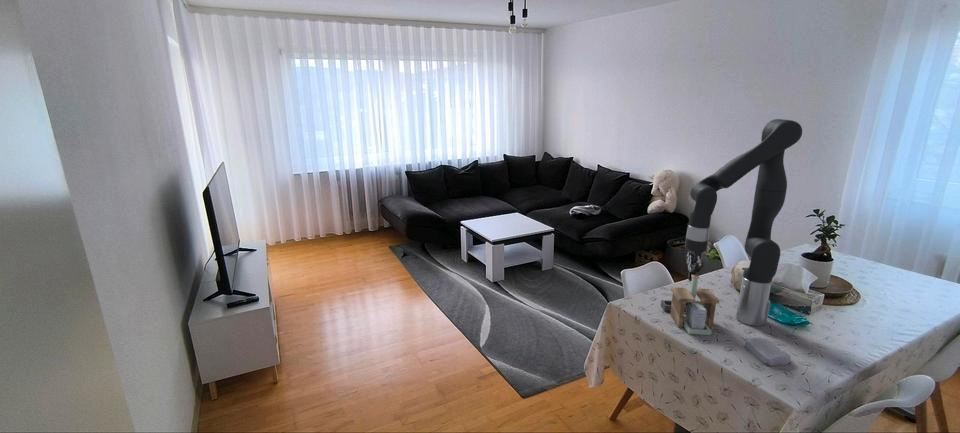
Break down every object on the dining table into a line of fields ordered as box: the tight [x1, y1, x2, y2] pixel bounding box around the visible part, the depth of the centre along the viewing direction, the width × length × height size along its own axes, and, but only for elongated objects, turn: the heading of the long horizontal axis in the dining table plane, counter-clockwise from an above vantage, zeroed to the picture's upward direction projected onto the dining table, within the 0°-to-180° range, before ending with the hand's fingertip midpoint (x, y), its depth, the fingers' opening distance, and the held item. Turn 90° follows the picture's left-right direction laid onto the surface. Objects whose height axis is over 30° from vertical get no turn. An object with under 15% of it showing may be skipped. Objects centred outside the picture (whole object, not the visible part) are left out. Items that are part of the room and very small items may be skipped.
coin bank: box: [730, 260, 751, 292], centre depth 194 cm, size 16×17×13 cm
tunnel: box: [669, 286, 720, 330], centre depth 164 cm, size 14×10×12 cm
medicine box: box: [684, 300, 707, 330], centre depth 161 cm, size 8×4×9 cm, turn 172°
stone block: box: [743, 337, 791, 367], centre depth 144 cm, size 12×5×10 cm
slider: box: [682, 274, 712, 336], centre depth 160 cm, size 8×12×18 cm, turn 173°
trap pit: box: [660, 299, 687, 314], centre depth 175 cm, size 15×5×2 cm, turn 83°
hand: (691, 280), depth 166 cm, fingers closed
